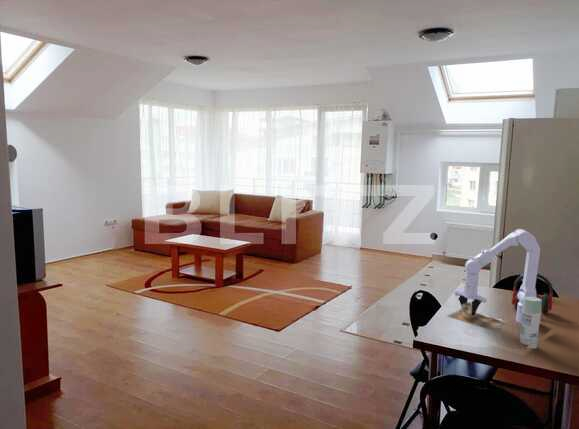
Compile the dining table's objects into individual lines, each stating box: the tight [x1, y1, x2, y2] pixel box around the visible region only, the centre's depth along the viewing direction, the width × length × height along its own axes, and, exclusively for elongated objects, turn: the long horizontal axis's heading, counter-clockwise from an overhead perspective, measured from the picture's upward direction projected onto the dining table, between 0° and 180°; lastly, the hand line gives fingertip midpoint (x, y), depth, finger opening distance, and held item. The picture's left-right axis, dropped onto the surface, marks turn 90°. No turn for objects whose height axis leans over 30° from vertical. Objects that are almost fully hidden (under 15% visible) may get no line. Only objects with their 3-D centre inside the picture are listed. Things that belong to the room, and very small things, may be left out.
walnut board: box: [446, 308, 509, 331], centre depth 209 cm, size 22×16×3 cm
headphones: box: [511, 272, 554, 315], centre depth 224 cm, size 18×10×20 cm, turn 64°
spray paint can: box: [519, 296, 542, 350], centre depth 182 cm, size 6×6×20 cm
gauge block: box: [461, 301, 476, 319], centre depth 211 cm, size 4×9×6 cm, turn 133°
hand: (468, 313), depth 212 cm, fingers closed on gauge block, 4 cm apart
